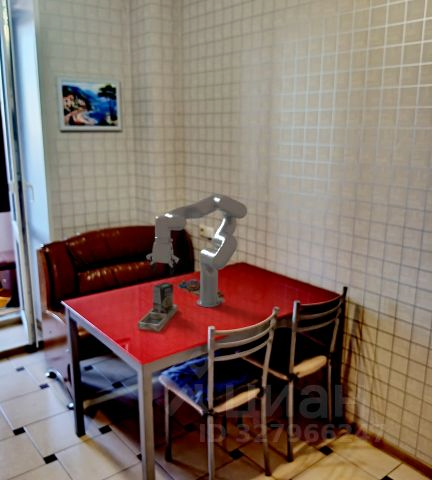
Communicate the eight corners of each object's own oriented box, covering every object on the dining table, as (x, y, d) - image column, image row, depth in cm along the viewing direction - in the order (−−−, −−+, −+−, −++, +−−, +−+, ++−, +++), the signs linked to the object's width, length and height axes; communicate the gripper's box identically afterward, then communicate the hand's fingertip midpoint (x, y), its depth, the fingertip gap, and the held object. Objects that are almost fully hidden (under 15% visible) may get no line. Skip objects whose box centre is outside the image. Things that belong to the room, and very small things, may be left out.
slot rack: (177, 310, 245) (177, 305, 244) (159, 331, 219) (159, 325, 218) (158, 308, 247) (158, 302, 246) (137, 328, 222) (137, 322, 221)
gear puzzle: (229, 294, 271) (229, 288, 270) (209, 301, 260) (209, 294, 259) (194, 281, 292) (194, 275, 291) (174, 287, 281) (174, 281, 280)
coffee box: (161, 318, 234) (161, 288, 230) (152, 315, 237) (152, 285, 234) (173, 313, 241) (173, 284, 237) (164, 310, 245) (164, 281, 241)
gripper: (181, 240, 231) (180, 272, 235) (149, 237, 235) (149, 269, 239) (176, 243, 224) (175, 276, 228) (143, 240, 228) (143, 273, 232)
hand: (162, 272), depth 234 cm, fingers open, 9 cm apart
